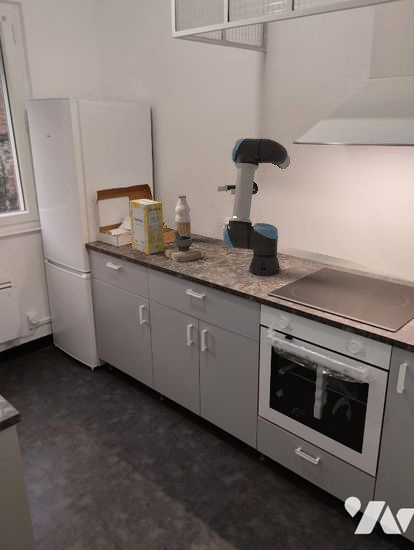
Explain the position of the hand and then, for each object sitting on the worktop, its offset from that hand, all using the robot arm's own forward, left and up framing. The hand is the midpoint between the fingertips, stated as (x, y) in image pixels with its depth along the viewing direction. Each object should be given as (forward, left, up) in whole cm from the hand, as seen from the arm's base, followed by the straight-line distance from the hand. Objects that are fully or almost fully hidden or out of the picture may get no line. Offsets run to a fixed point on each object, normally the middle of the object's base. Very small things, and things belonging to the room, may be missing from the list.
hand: (223, 190), depth 249 cm
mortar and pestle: (+5, +24, -32) cm, 40 cm away
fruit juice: (+38, +6, -35) cm, 52 cm away
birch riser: (+5, +24, -35) cm, 43 cm away
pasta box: (+30, +34, -35) cm, 57 cm away
